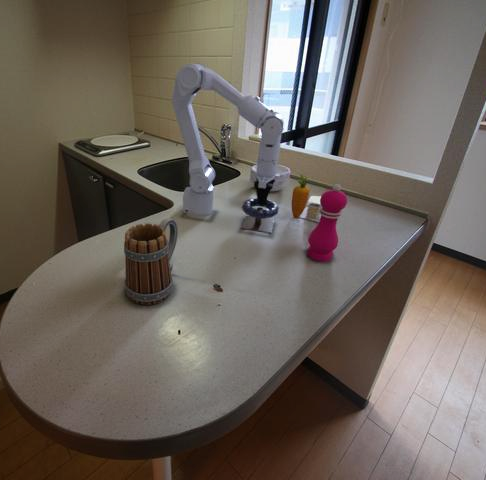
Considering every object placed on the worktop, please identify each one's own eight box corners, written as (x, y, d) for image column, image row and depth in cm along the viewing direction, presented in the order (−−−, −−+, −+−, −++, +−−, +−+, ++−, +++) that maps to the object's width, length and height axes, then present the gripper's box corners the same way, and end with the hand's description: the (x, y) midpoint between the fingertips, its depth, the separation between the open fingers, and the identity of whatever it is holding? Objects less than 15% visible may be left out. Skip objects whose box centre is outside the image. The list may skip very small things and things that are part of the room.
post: (240, 232, 95) (242, 212, 92) (245, 219, 103) (247, 200, 99) (270, 237, 93) (273, 217, 90) (273, 223, 100) (276, 205, 97)
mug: (153, 313, 65) (149, 251, 57) (115, 295, 70) (107, 236, 62) (193, 275, 76) (194, 219, 69) (158, 261, 81) (156, 208, 74)
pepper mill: (333, 251, 87) (353, 181, 77) (334, 265, 81) (355, 191, 71) (305, 246, 89) (321, 177, 79) (304, 259, 83) (321, 187, 73)
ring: (238, 216, 92) (239, 208, 91) (245, 202, 101) (246, 195, 99) (275, 222, 89) (277, 214, 88) (279, 207, 98) (280, 199, 97)
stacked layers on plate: (323, 224, 101) (327, 208, 98) (296, 216, 105) (299, 200, 102) (333, 213, 107) (337, 198, 105) (307, 206, 112) (310, 192, 109)
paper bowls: (258, 178, 137) (261, 160, 133) (293, 186, 129) (296, 167, 125) (242, 188, 126) (244, 169, 122) (278, 198, 118) (281, 177, 114)
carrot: (304, 223, 100) (314, 178, 93) (288, 222, 101) (296, 177, 94) (302, 217, 105) (312, 173, 97) (287, 215, 106) (295, 172, 98)
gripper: (280, 167, 84) (272, 213, 91) (284, 153, 96) (277, 195, 102) (253, 164, 85) (248, 210, 92) (260, 151, 97) (255, 192, 104)
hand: (262, 202), depth 98 cm, fingers closed on ring, 2 cm apart
